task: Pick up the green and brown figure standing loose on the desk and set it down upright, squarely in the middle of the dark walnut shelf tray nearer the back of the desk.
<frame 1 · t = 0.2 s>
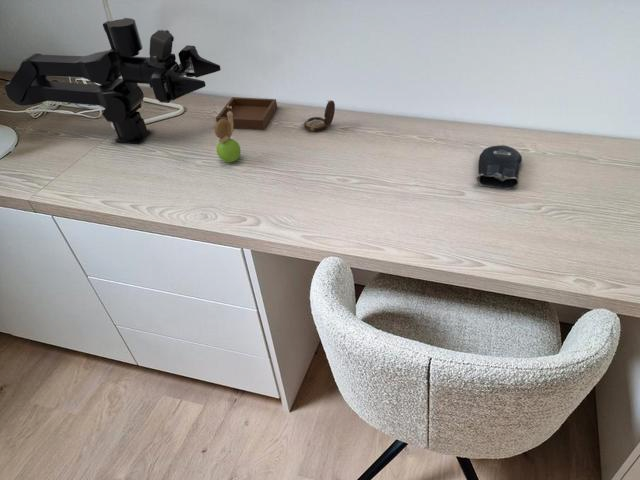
hand: (212, 75, 111), 17 cm above the table, tool horizontal, fingers open, 9 cm apart
green and brown figure: (232, 160, 117), on the table
shelf tray: (248, 117, 132), on the table
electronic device: (498, 171, 111), on the table
compass: (318, 129, 127), on the table
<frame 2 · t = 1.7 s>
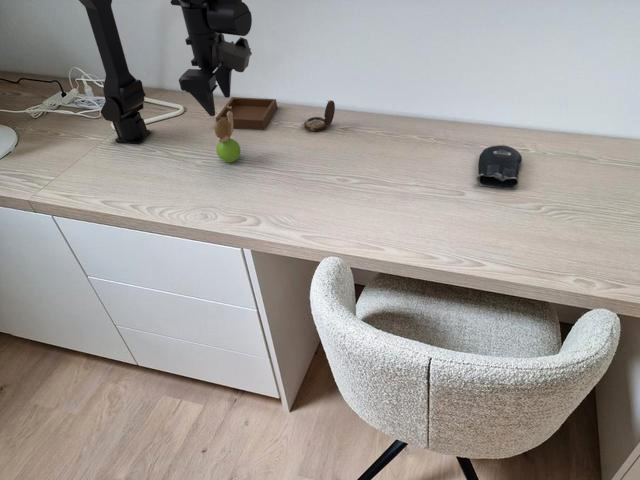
hand: (220, 106, 108), 13 cm above the table, tool pointing down, fingers open, 9 cm apart
nothing on the table moved.
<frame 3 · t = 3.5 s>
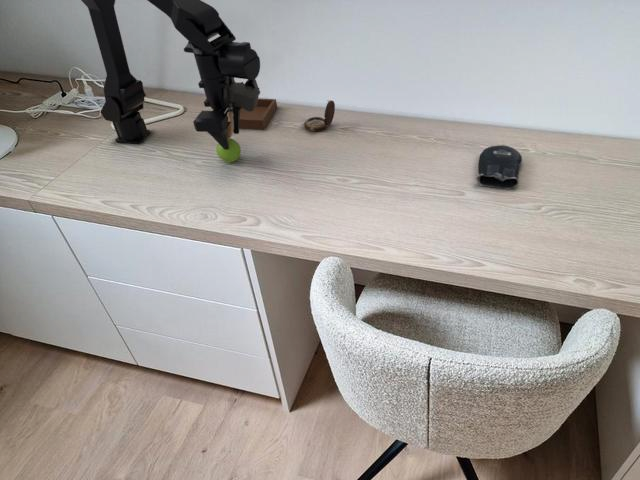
hand: (231, 141, 114), 5 cm above the table, tool pointing down, fingers closed on green and brown figure, 7 cm apart
green and brown figure: (232, 159, 117), on the table, touching gripper
everything else where it was.
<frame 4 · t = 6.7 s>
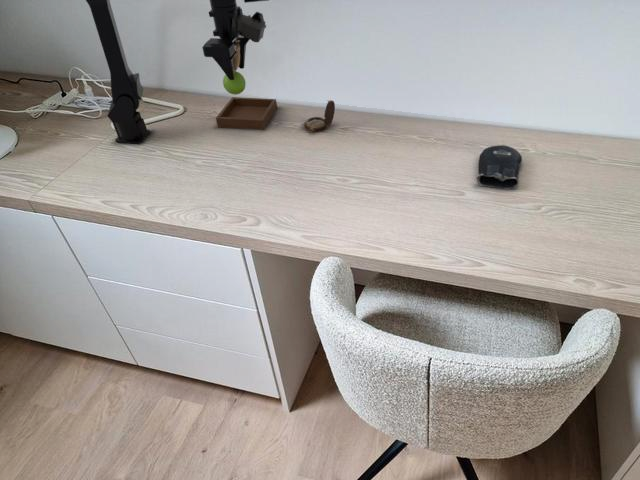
hand: (237, 74, 121), 13 cm above the table, tool pointing down, fingers closed on green and brown figure, 7 cm apart
green and brown figure: (237, 93, 124), point 8 cm above the table, touching gripper
everything else where it was.
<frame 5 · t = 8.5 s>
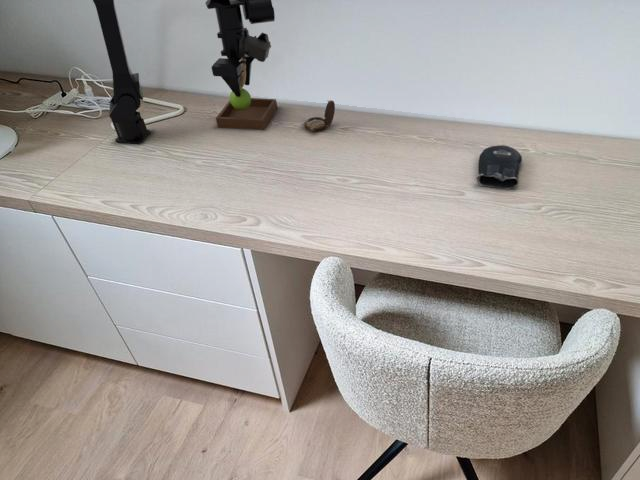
hand: (243, 90, 127), 7 cm above the table, tool pointing down, fingers closed on green and brown figure, 7 cm apart
green and brown figure: (243, 108, 130), point 3 cm above the table, touching gripper
everything else where it was.
when the fingers open (5 cm above the table, at t = 9.7 s): green and brown figure stays where it is, resting on shelf tray.
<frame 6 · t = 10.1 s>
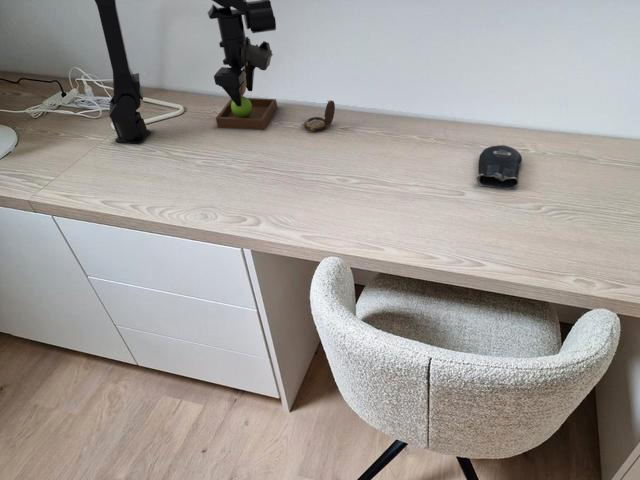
hand: (244, 98, 129), 5 cm above the table, tool pointing down, fingers open, 9 cm apart
green and brown figure: (244, 116, 132), resting on shelf tray
everything else where it was.
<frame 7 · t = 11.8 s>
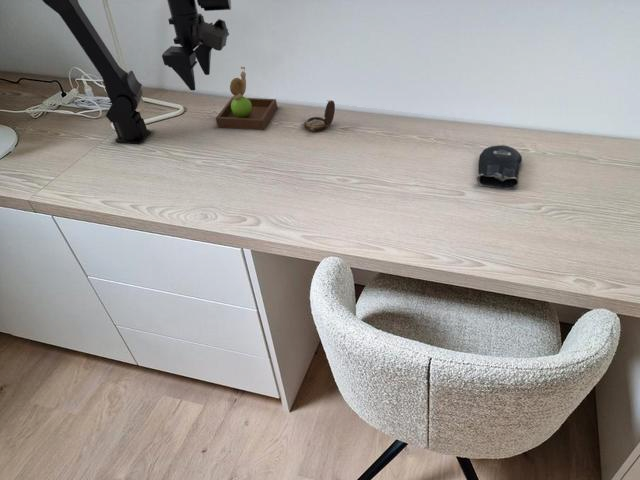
hand: (200, 82, 118), 13 cm above the table, tool pointing down, fingers open, 9 cm apart
nothing on the table moved.
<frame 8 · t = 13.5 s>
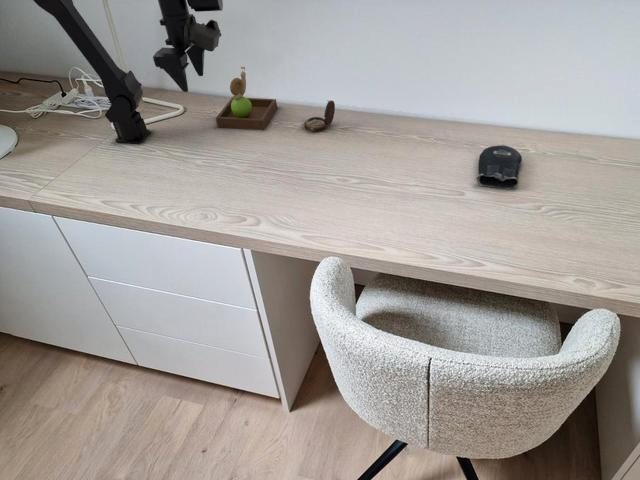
hand: (193, 83, 117), 13 cm above the table, tool pointing down, fingers open, 9 cm apart
nothing on the table moved.
at the end: green and brown figure inside the target area in the shelf tray (0.9 cm from its centre), point 0.4 cm above the shelf tray's base; green and brown figure tilted 0°; the gripper is holding nothing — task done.
